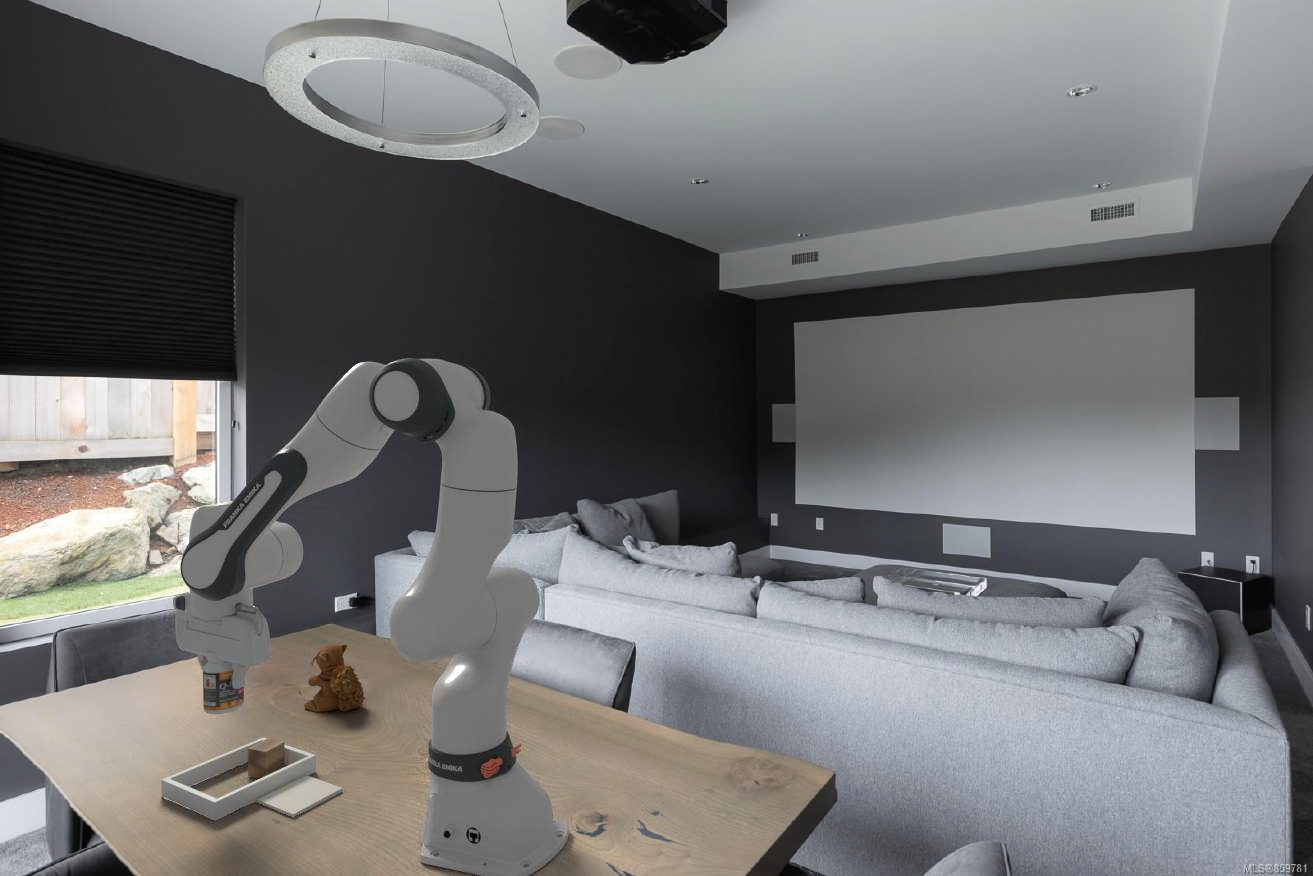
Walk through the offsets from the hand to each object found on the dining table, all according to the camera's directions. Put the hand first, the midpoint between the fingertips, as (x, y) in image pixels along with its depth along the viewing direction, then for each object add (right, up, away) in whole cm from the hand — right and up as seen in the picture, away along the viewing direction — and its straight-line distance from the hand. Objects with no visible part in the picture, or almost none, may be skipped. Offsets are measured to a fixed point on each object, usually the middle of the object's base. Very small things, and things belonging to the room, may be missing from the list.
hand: (223, 683), depth 118 cm
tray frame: (0, -19, +4) cm, 19 cm away
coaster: (+12, -19, 0) cm, 23 cm away
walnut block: (+3, -19, +8) cm, 20 cm away
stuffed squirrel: (+2, -18, +37) cm, 41 cm away
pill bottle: (0, -4, 0) cm, 4 cm away
